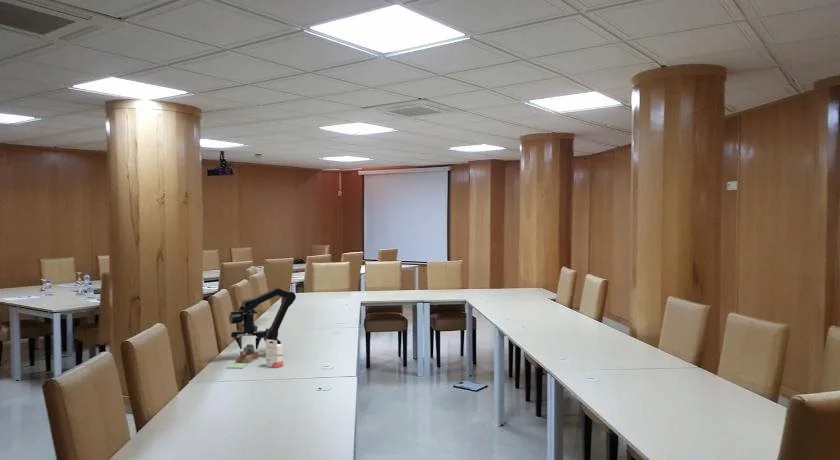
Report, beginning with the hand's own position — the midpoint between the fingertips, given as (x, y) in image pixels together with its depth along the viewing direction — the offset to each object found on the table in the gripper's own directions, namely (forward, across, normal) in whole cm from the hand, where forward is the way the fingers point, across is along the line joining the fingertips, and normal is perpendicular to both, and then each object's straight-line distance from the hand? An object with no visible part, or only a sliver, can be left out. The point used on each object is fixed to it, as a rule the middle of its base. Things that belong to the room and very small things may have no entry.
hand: (248, 349), depth 326 cm
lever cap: (+3, 0, 0) cm, 3 cm away
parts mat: (+6, 0, +16) cm, 17 cm away
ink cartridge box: (+6, -20, +14) cm, 25 cm away
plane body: (+6, 0, +2) cm, 6 cm away
